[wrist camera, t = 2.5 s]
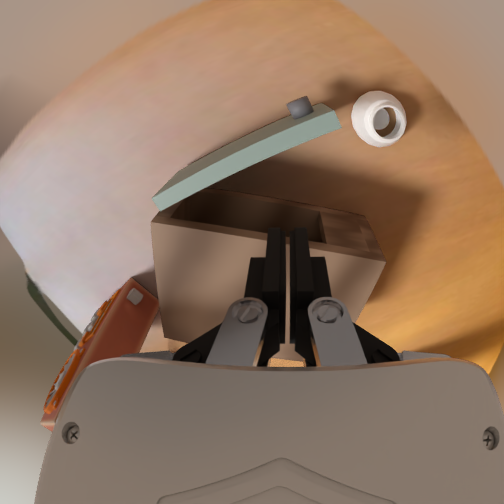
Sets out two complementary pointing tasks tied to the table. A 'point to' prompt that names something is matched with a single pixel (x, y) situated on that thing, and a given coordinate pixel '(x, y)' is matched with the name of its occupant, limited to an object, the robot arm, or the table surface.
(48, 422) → the control panel
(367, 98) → the lidless jar
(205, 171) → the door
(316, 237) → the case
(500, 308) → the table surface
